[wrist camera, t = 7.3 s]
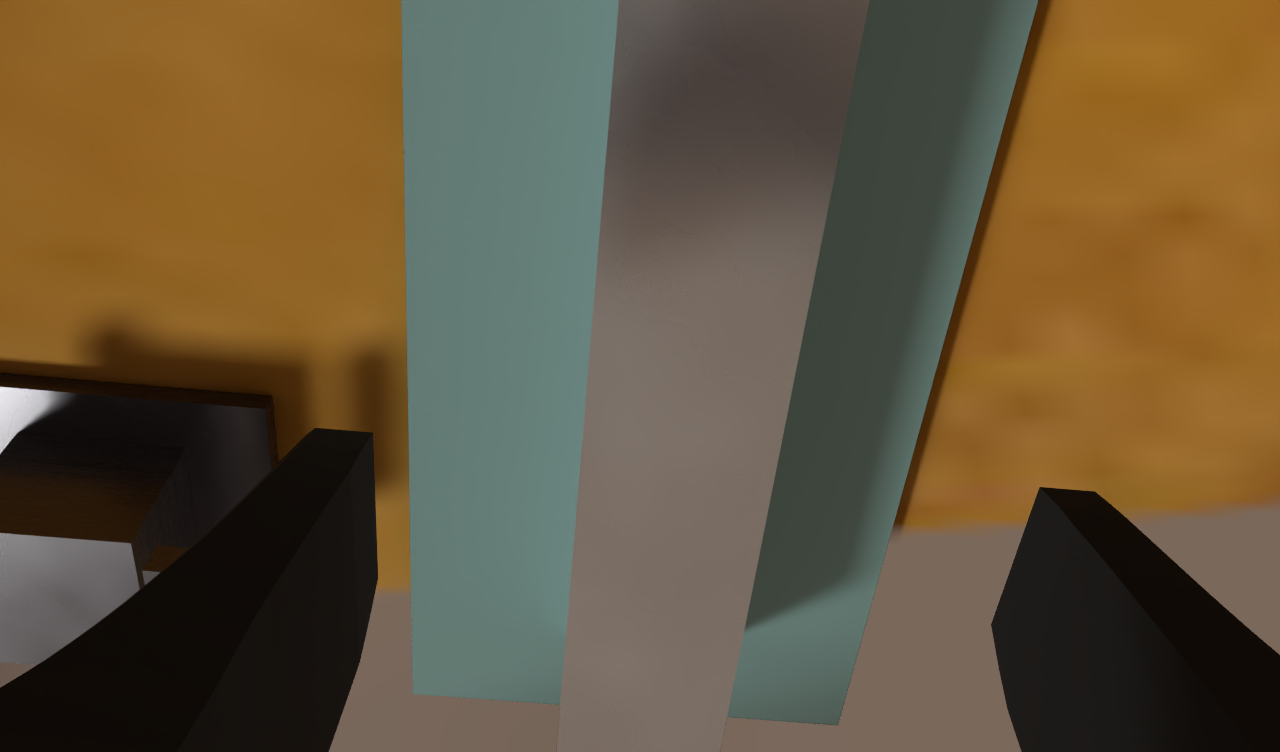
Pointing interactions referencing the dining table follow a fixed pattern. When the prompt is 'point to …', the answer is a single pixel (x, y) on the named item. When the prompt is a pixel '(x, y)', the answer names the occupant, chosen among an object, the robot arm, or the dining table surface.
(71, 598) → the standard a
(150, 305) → the dining table surface
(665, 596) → the rail
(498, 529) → the mat
